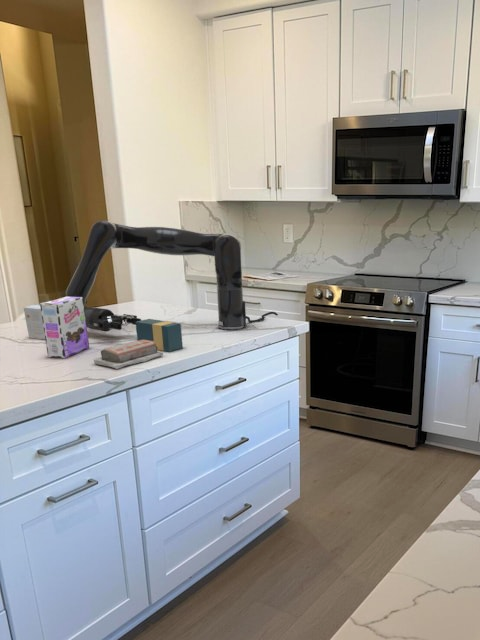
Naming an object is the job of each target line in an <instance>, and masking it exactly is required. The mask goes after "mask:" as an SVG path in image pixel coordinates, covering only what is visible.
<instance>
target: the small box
mask: <svg viewBox="0 0 480 640" xmlns="http://www.w3.org/2000/svg"><path fill="white" fill-rule="evenodd" d="M23 311H24V318H25V324H26V328H27V333H28V338H31V339H38V340H45V334H44V327H43V320H42V314H41V307H40V304H33V305H27V306H23ZM45 341H46V340H45Z"/></svg>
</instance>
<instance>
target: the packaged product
mask: <svg viewBox="0 0 480 640" xmlns="http://www.w3.org/2000/svg"><path fill="white" fill-rule="evenodd" d="M163 355H164V352H161V351H159V350H158V348H157V346H156V343H155V342H154V341H149V340H138V341H137V340H134V341H130V342H126V343H122V344H121V343H120V344H118V345H114V346H109V347H105V348H102V349H101V350H100V356H101V357H96V358H93V363H94V365H99V366H104V367H108V368H113V369H116V370H119V369H122V368H124V367H127V366H131V365H135V364H138V363H144V362H148V361H150V360H153V359H157V358H160V357H162V356H163Z"/></svg>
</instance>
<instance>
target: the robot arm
mask: <svg viewBox="0 0 480 640" xmlns="http://www.w3.org/2000/svg"><path fill="white" fill-rule="evenodd" d="M112 249H136V250H140V251H144V252H147V253H153V254H158V255H166V256H196V255H200V256H201V255H203V256H208V257H209V256H211V257H214V270H215V271H214V272H215V279H216V296H217V315H218V321H217V323H218V328H219V329H221V330H226V331H227V330H228V331H231V330H232V331H234V330H240V329H244V328H247V322H248V323H258V322H261V321H264V320H265V317H266V316H270V315H275V316H279V313H277V312H276V311H269V312H266V313H264V314H262V315H261V317H260V318H257V319H251V317H249V316H247V314H246V301H245V300H244V292H243V274H242V243H241V241H240V240H239V238H238V237H237V236H235V235H234V234H231V233H203V232H202V233H201V232H197V231H192V230H187V229H182V228H176V227H175V228H174V227H165V226H141V227H138V226H137V227H136V226H129V225H124V224H119V223H116V222H115V223H114V222H112V221H108V220H98V221H96V222H94V223H93V224H92V225H91V228H90V230H89V234H88V238H87V241H86V245H85V247H84V251H83V254H82V256H81V258H80V261H79V263H78V266H77V268H76V269H75V272H74V273H73V276H72V278H71V279H70V282H69V284H68V286H67V288H66V290H65V295H66V297H82V298H83V305H84V313H85V320H86V327H87V329H90V330H94V331H100V332H110V331H111V330H118V331H122V329H123V327H128V325H133V326H136V323H135V322H137V321H141V320H142V319H141V318H138V316H137V315H135V314H134V315H133V314H126V313H124V314H120V315H119V314H114V312H113V311H112V310H110V309H108V308H101V307H93V306H92V307H91V306H89V307H88V306H86V302H87V298H88V296H89V295H90V292H91V290H92V288H93V286H94V283H95V281H96V278H97V274H98V271H99V268H100V265H101V263H102V260H104V259H103V258H104V257H105V256H106V255H107V253H108V251H109V250H112Z"/></svg>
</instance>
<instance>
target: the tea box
mask: <svg viewBox="0 0 480 640" xmlns="http://www.w3.org/2000/svg"><path fill="white" fill-rule="evenodd" d="M135 323H136V325H135V331H136V341H138V340H149V341H154V342H155V343H156V346H157V348H158V350H157V351H163V352H174V351H178V350H180V349H183V347H184V345H183V335H182V334H183V333H182V324H181V322H176V321H175V322H174V321H169V320H168V321H167V320H160V319H153V318H147V319H141V321H137V322H135Z"/></svg>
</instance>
